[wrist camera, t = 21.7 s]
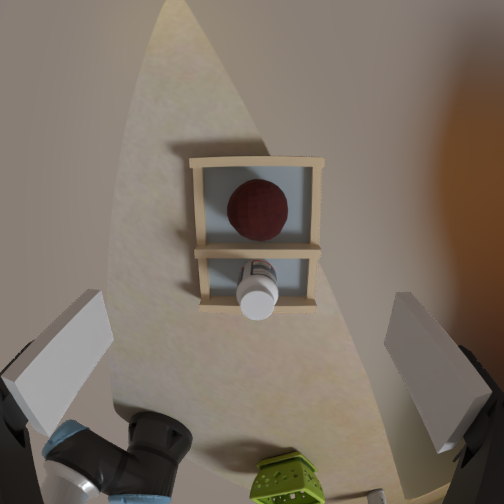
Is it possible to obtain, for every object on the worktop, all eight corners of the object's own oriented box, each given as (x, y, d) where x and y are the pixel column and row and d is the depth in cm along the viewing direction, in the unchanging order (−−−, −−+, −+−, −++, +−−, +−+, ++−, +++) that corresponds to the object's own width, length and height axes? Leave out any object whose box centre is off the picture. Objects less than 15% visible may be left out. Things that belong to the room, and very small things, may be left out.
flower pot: (301, 443, 56) (305, 488, 44) (322, 464, 60) (327, 503, 48) (249, 458, 59) (247, 499, 47) (275, 477, 63) (275, 514, 51)
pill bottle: (252, 298, 43) (249, 332, 35) (232, 270, 42) (224, 300, 33) (283, 280, 42) (287, 312, 34) (264, 251, 41) (263, 277, 32)
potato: (283, 174, 37) (287, 178, 31) (287, 231, 40) (292, 247, 33) (227, 179, 38) (219, 185, 31) (233, 236, 40) (227, 253, 34)
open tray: (204, 300, 44) (199, 312, 41) (195, 157, 37) (189, 158, 34) (312, 301, 44) (315, 313, 40) (319, 157, 37) (324, 157, 33)
